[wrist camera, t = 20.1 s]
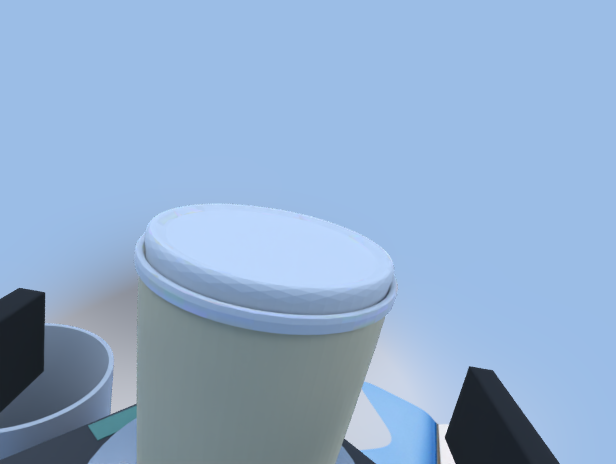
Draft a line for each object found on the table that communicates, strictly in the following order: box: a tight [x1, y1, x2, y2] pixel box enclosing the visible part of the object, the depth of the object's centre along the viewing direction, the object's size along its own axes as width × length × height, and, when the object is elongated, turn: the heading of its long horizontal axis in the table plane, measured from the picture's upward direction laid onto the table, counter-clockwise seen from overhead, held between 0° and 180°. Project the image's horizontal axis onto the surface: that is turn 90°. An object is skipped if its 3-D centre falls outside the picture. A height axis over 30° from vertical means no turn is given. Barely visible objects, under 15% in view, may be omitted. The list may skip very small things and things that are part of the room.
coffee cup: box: [135, 204, 398, 464], centre depth 16 cm, size 9×9×12 cm
